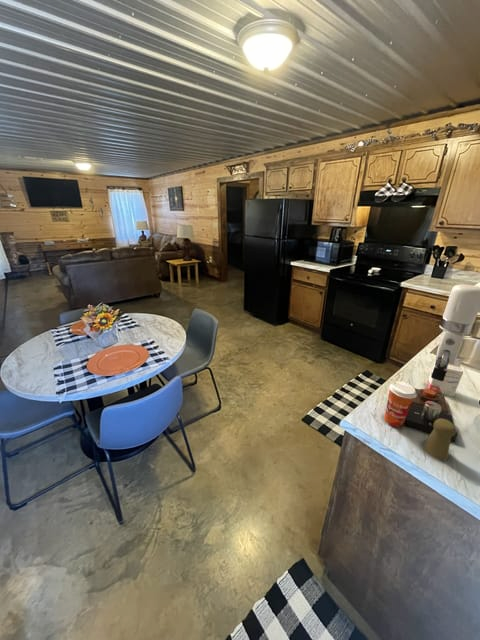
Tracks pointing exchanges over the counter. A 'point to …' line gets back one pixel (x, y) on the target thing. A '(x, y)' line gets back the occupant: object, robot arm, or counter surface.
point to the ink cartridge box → (447, 379)
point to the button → (429, 393)
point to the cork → (440, 439)
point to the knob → (431, 411)
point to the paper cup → (399, 403)
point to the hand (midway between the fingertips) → (438, 372)
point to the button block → (437, 399)
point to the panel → (424, 421)
